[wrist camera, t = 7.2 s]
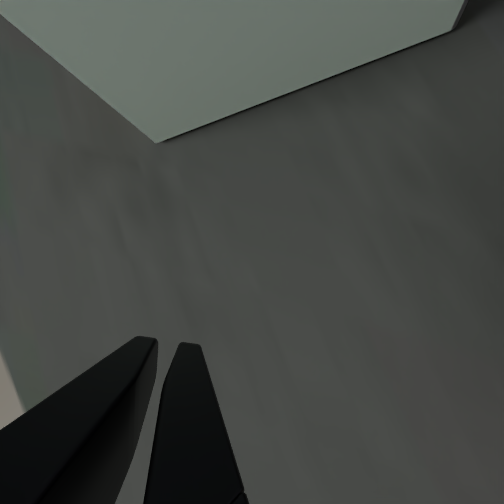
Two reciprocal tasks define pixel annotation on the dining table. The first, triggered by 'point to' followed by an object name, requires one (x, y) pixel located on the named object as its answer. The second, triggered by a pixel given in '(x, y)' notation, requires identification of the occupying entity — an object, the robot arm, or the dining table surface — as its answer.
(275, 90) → the flap
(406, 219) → the dining table surface
